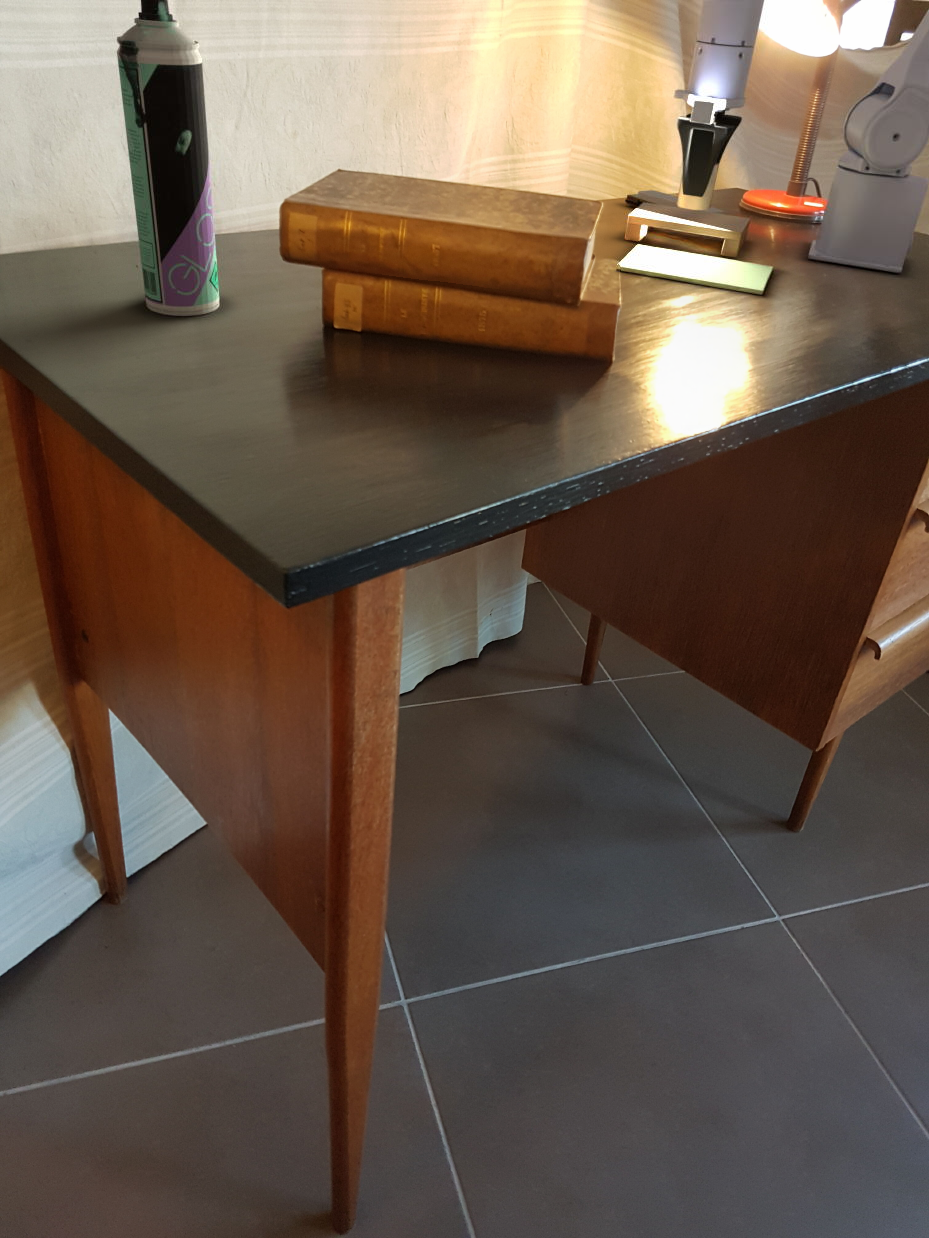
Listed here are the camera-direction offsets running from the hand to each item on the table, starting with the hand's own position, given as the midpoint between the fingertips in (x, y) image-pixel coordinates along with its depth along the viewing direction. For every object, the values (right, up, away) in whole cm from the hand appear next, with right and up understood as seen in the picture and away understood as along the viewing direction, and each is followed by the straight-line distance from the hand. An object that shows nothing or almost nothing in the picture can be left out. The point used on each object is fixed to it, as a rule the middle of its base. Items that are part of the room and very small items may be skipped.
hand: (696, 192), depth 101 cm
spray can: (-46, -21, -28) cm, 58 cm away
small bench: (0, -4, +3) cm, 5 cm away
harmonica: (+1, +2, +12) cm, 12 cm away
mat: (-2, -11, -7) cm, 13 cm away
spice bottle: (0, -1, +1) cm, 1 cm away
